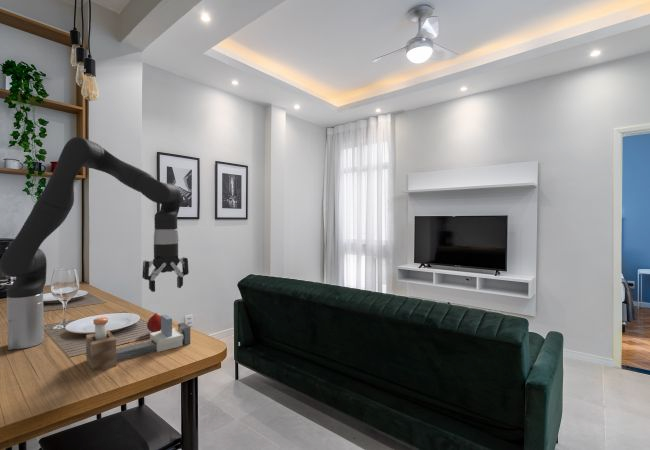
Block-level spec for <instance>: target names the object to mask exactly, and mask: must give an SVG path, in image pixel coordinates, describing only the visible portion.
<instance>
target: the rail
mask: <svg viewBox="0 0 650 450" xmlns="http://www.w3.org/2000/svg"><path fill="white" fill-rule="evenodd" d="M177 326H178V327H177V331H179V332H180V333H181V334H183V339H182V346H183V345H184V346H186V345H190V344H191V326H190V325H189V324H187V323H186V322H180V323H177ZM155 352H157V351H156V343H155V342H154V341H153V340H152V341H151V340H148V341H145V342H140V343H136V344H131V345H127V346H122V347H119V348H116V363H117V362H121V361H124V360H129V359H131V358H135V357H139V356H144V355H147V354H151V353H155Z"/></svg>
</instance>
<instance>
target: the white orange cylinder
mask: <svg viewBox="0 0 650 450" xmlns="http://www.w3.org/2000/svg"><path fill="white" fill-rule="evenodd" d="M108 319H109V318H108V317H98V318H97V317H96V318H94V319H93V325H94V329H95V330H94V333H95V340H100V339H105V338H106V331H107V323H108Z"/></svg>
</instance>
